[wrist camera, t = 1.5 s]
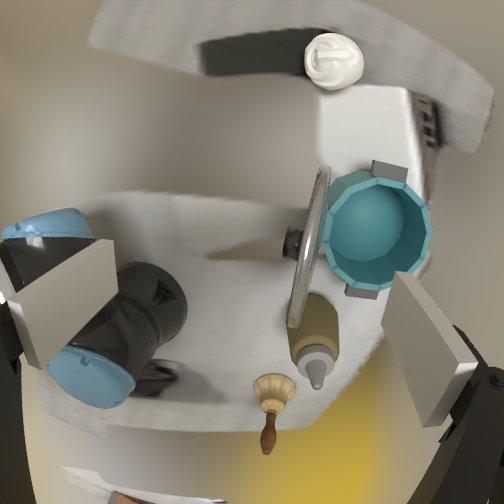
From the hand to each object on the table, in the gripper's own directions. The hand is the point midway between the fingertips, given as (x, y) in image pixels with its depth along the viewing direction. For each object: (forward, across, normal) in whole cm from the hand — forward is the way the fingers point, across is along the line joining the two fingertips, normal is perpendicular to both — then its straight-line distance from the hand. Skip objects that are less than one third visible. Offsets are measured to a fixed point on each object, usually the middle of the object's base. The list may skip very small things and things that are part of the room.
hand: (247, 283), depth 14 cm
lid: (+15, +5, -3) cm, 16 cm away
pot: (+32, +14, -3) cm, 35 cm away
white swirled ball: (+32, +6, +18) cm, 37 cm away
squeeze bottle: (+32, +8, -19) cm, 38 cm away
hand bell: (+32, +4, -38) cm, 50 cm away
